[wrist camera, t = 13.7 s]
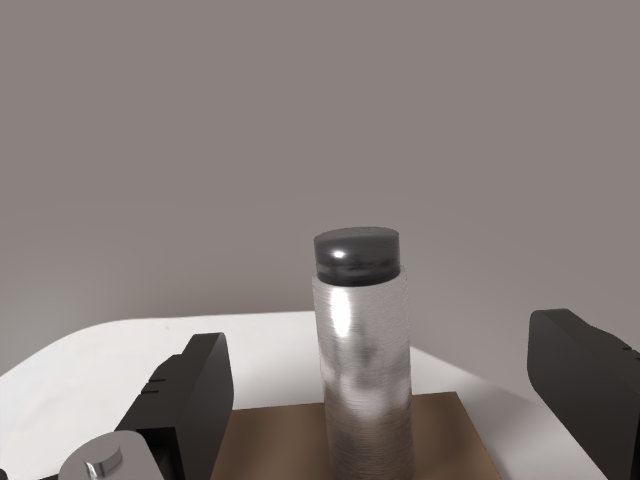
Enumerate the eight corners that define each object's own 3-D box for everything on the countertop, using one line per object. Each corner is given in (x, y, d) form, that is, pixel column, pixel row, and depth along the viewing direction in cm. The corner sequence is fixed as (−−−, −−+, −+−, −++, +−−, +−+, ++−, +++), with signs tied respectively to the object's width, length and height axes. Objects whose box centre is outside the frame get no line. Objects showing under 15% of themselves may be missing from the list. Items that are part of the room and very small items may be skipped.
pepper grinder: (332, 501, 22) (306, 252, 19) (329, 436, 27) (309, 230, 24) (424, 494, 22) (415, 243, 19) (405, 430, 27) (394, 222, 24)
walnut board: (114, 601, 19) (109, 583, 19) (192, 427, 31) (189, 413, 31) (538, 571, 19) (539, 551, 19) (455, 405, 30) (455, 391, 30)
